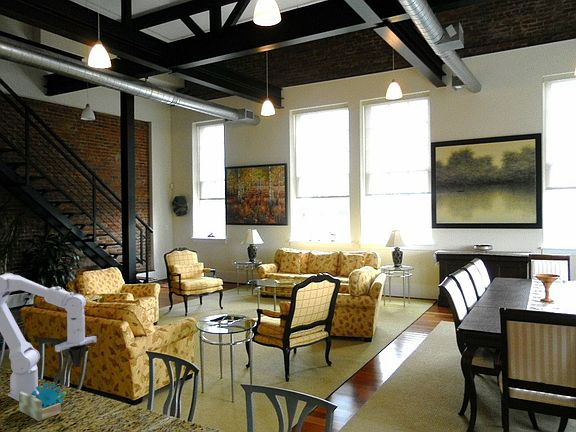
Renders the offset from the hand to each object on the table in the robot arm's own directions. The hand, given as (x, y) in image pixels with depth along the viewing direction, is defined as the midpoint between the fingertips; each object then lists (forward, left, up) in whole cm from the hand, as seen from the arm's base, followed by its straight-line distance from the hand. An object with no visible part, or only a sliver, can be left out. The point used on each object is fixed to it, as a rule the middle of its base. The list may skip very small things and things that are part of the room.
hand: (76, 366), depth 165 cm
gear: (+5, -12, -10) cm, 16 cm away
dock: (+5, -16, -9) cm, 19 cm away
